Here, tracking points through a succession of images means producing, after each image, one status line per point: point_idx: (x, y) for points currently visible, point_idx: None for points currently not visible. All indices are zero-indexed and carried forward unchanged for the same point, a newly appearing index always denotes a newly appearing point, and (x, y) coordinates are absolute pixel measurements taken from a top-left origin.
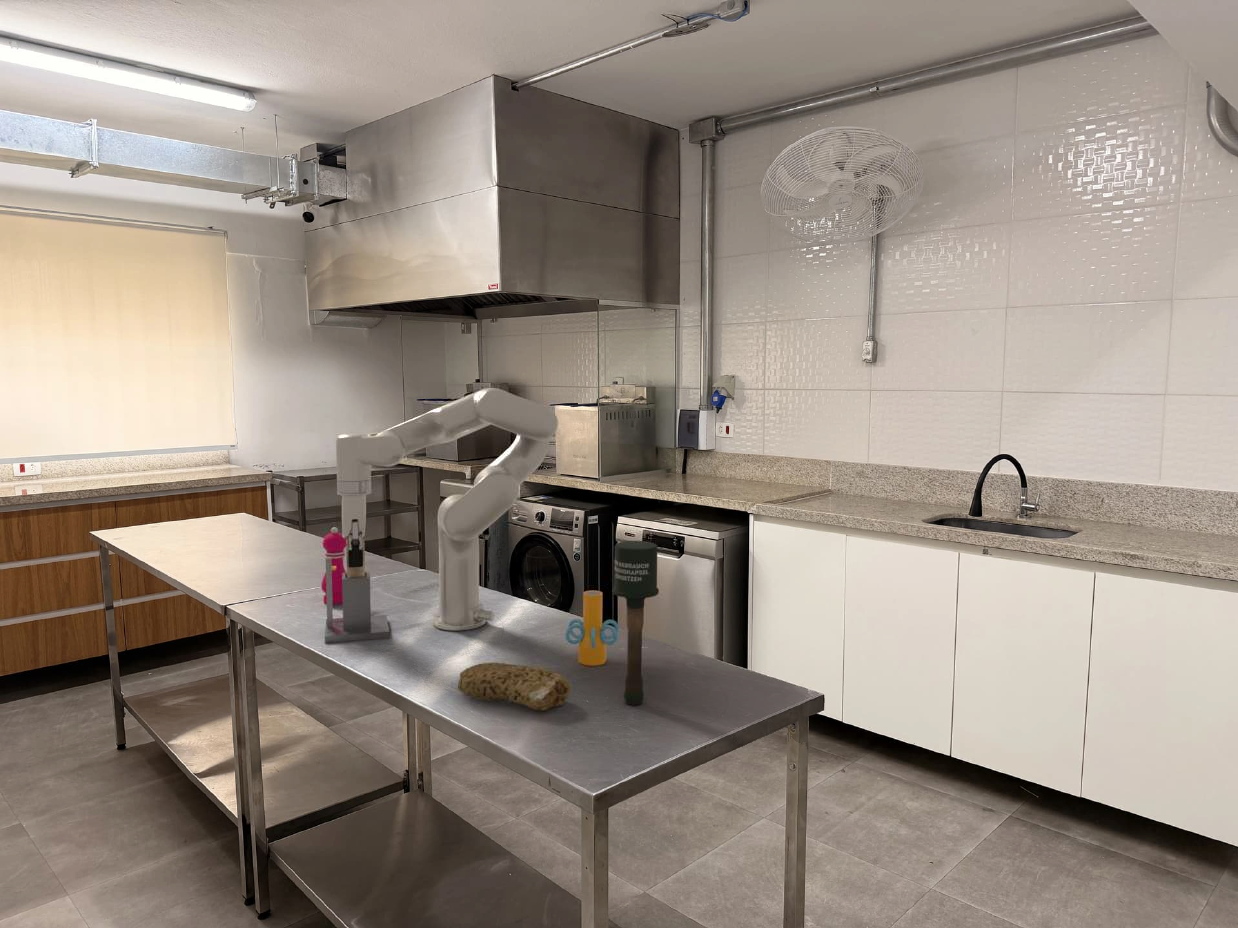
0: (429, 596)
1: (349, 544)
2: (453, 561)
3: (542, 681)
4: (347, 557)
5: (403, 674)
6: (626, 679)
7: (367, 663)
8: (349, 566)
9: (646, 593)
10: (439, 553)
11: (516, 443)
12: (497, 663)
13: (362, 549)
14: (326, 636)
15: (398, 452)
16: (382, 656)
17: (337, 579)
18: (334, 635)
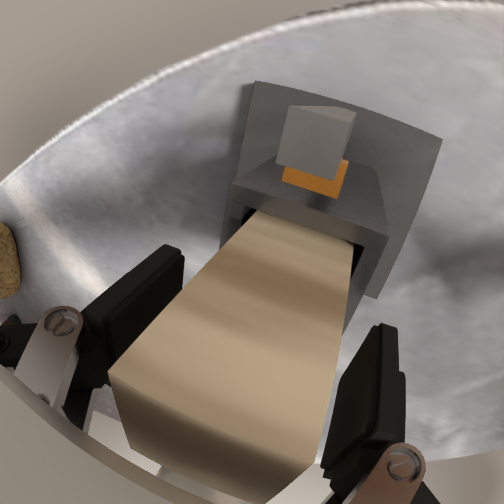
0: (466, 410)
1: (31, 339)
2: (161, 468)
3: None
4: (190, 287)
5: (56, 188)
6: (3, 324)
7: (100, 147)
8: (163, 248)
9: None
10: (197, 491)
11: None
12: (3, 274)
13: (109, 384)
14: (254, 85)
15: None
16: (123, 182)
17: None
18: (253, 107)
